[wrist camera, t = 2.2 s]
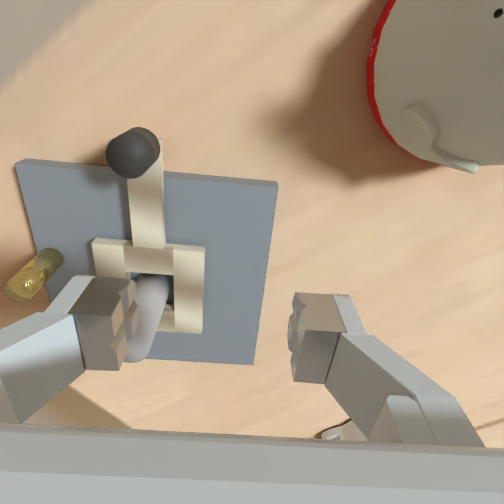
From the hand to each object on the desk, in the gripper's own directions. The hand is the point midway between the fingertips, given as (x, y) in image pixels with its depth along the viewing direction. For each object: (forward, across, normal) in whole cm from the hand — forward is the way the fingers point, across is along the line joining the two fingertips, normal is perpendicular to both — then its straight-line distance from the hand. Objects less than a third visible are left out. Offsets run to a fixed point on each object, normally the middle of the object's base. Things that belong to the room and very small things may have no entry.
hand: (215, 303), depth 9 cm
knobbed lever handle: (+17, +7, +8) cm, 20 cm away
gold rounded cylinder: (+18, +15, +10) cm, 26 cm away
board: (+19, +6, +12) cm, 24 cm away
